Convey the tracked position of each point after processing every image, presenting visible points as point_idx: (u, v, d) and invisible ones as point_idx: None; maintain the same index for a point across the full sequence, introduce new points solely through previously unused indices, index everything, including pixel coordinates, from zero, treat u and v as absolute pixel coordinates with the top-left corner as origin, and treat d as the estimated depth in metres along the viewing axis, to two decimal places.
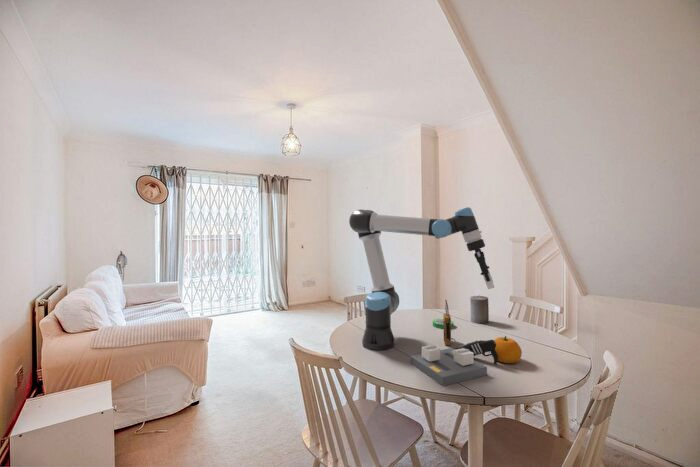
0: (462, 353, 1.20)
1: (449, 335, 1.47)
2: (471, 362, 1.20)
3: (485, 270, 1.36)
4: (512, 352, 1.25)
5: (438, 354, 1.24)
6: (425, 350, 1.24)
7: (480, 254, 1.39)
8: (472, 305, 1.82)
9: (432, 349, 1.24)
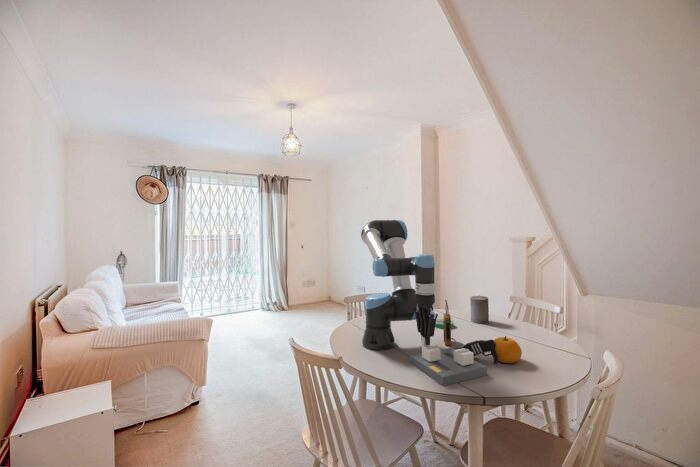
0: (462, 353, 1.20)
1: (449, 335, 1.47)
2: (471, 362, 1.20)
3: None
4: (512, 352, 1.25)
5: (438, 354, 1.24)
6: (425, 350, 1.24)
7: None
8: (472, 305, 1.82)
9: (432, 349, 1.24)
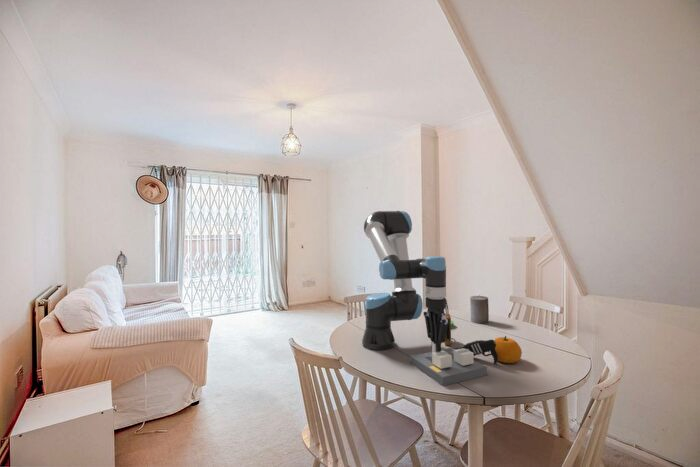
0: (462, 353, 1.20)
1: (449, 335, 1.47)
2: (471, 362, 1.20)
3: None
4: (512, 352, 1.25)
5: (450, 361, 1.18)
6: (436, 356, 1.18)
7: None
8: (472, 305, 1.82)
9: (443, 355, 1.18)
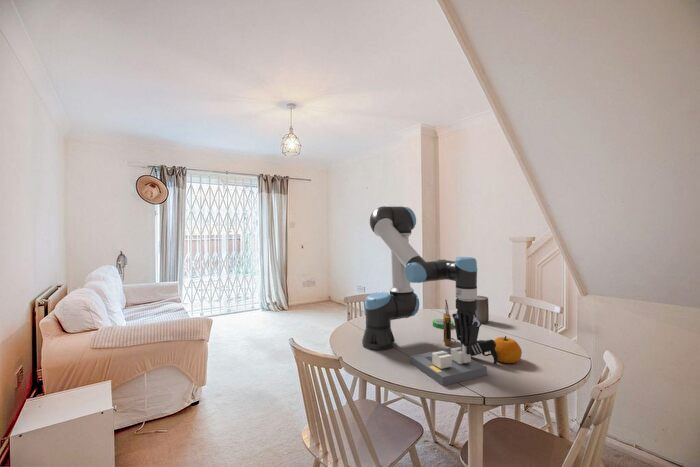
0: (459, 351, 1.21)
1: (449, 335, 1.47)
2: None
3: None
4: (512, 352, 1.25)
5: (450, 361, 1.18)
6: (436, 356, 1.18)
7: None
8: None
9: (443, 355, 1.18)
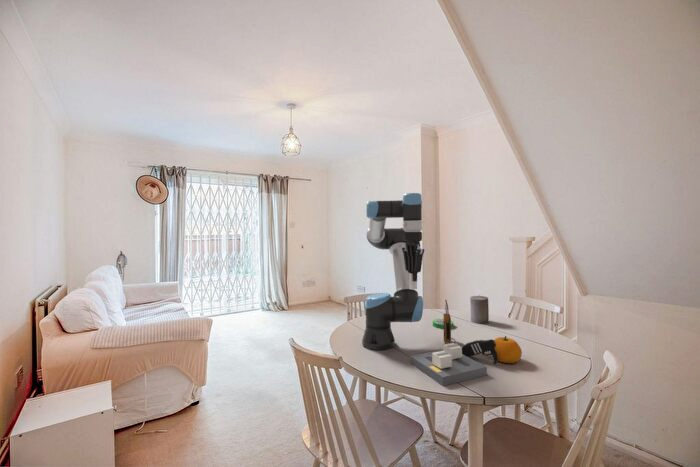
0: (451, 347, 1.25)
1: (449, 335, 1.47)
2: (459, 356, 1.25)
3: None
4: (512, 352, 1.25)
5: (450, 361, 1.18)
6: (436, 356, 1.18)
7: None
8: (472, 305, 1.82)
9: (443, 355, 1.18)
